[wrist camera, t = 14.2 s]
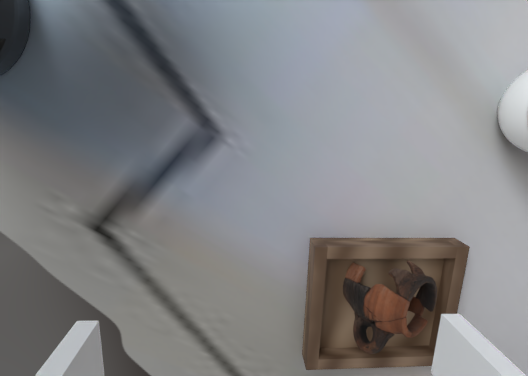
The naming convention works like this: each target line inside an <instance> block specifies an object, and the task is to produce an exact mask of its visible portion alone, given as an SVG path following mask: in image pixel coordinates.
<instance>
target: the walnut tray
mask: <svg viewBox="0 0 528 376" xmlns="http://www.w3.org/2000/svg"><path fill="white" fill-rule="evenodd" d="M468 252H469V246H467V245H465V244H464V243H462V242H460V241H459V240H457V239H455V238H310V247H309V262H308V277H307V291H306V306H305V321H304V335H303V350H302V355H303V359H304V363H305V367H306V370H316V369H347V368H379V367H410V366H432V363H433V357H434V352H435V346H436V341H437V335H438V330H439V324H440V318H441V314H457V309H458V304H459V299H460V294H461V289H462V283H463V278H464V273H465V268H466V263H467V258H468ZM407 260H409V261H411V262H412V263H414V264H415V265H417V266H418V267H419V268H421V269H422V271H423V272H424V274H425V275H426V276H430V277H432V278H433V279H434V280H435V282H436V286H437V299H436V304H435V308H434V309H433V312H430V311H429V310H428V309H426V308H425V309H424V312H423V314H422V318H424V319H426V320H427V321H428V323H427V325H426V326H425V328H424V329H423V330H422V331H421V332H420V333H419V334H418V335H417V336H415V337H412V338H407V337H406V336H404V335H403V334H394V336H393V337H391V338H390V339H389V340H388V342H387V343H386V345H385V347H384V348H383V349H382V350H381V351H380V352H379V353H376V354H368V353H365V352H364V351H363V350H360V349H359V347H358V346H357V344H356V342H355V339H354V335H353V326H354V320H355V314H354V313H355V312H354V310H353V309H352V307H351V306H350V304H349V303H348V302H347V300H346V299H345V297H344V294H343V284H344V279H345V276H346V273H347V271H348V268H349V267H350V265H351V264H352V263H356V264H358V265H361V266H363V267H365V269H366V270H365V272H364V274H363V276H362V278H361V281H360V283H361V284H362V285H364V286H368V287H370V288H372V287H373V286H374V285H375V284H383V285H385V286H386V287H387V288H388V289H390V290H391V291H393V292H395V293H397V287H396V285H395V282H394V279H393V278H392V277H391V276H390V275H389V274H388V272H389V271H390V270H392V269H394V268H398V269H400V270H407V271H410V272H411V269H410V267H409V265H408V264H407ZM411 273H412V272H411ZM419 289H420V288H419ZM419 289H418V290H417V291H416V293H415V294H414V296H413V297H416V295H417V293H418V291H419ZM414 315H415V313H413V312H411V311H408V312H407V316H406V318H407V325H408V324H409V323H410V321H411V320H412V318H413V317H414ZM366 334H367V338H368V340H369V341H371V340H372V337H373V330H372V327H368V328H367V330H366Z"/></svg>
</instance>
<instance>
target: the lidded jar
mask: <svg viewBox="0 0 528 376" xmlns="http://www.w3.org/2000/svg"><path fill="white" fill-rule="evenodd" d="M497 117H498V121H499V125H500V128H501V130H502V132H503V134H504V135H505V137H506V138H507V139H508V140H509V141H510V142H511V143H512V144H513V145H515V146H516V147H518V148H519V149H521V150H523V151H526V152H528V70H526V71H525V72H523V73H522V74H520V75H519V76H518V77H517V78H516V79H515V80H514V81H513V82H512V83H511V84H510V85H509V86H508V88H507V89H506V91H505V92H504V94H503V96H502V98H501V99H500V102H499V105H498V109H497Z"/></svg>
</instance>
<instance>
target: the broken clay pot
mask: <svg viewBox="0 0 528 376" xmlns="http://www.w3.org/2000/svg"><path fill="white" fill-rule="evenodd" d="M407 264H408V265H409V267H410V269H411V272H412V273H411V272H410V271H407V270H400V269H398V268H394V269H392V270H390V271H389V272H388V274H389V275H390V276H391V277H392V278H393V279H394V282H395V285H396V287H397V293H395V292H393V291H391V290H390V289H388V288H387V287H386V286H385V285H383V284H375V285H374V286H373V287H372V288H370V287H368V286H364V285H362V284H361V283H360V281H361V278H362V276H363V274H364V272H365V270H366V269H365V267H363V266H361V265H358V264H356V263H352V264H351V265H350V267H349V268H348V271H347V273H346V276H345V279H344V284H343V294H344V297H345V299H346V300H347V302H348V303H349V304H350V306H351V307H352V309H353V310H354V312H355V313H354V314H355V320H354V326H353V335H354V339H355V342H356V344H357V346H358V347H359V349H360V350H363V351H364V352H365V353H368V354H376V353H379V352H380V351H381V350H382V349H383V348H384V347H385V345H386V343H387V342H388V340H389V339H390V338H391V337H393V336H394V334H403V335H404V336H406V337H407V338H412V337H415V336H417V335H418V334H419V333H420V332H421V331H422V330H423V329H424V328H425V326H426V325H427V323H428V321H427V320H426V319H424V318H422V314H423V312H424V309H425V308H426V309H428V310H429V311H430V312H433V309H434V308H435V304H436V299H437V286H436V282H435V280H434V279H433V278H432V277H430V276H426V275H425V274H424V272H423V271H422V269H421V268H419V267H418V266H417V265H415V264H414V263H412V262H411V261H409V260H407ZM419 288H420V289H419ZM418 289H419V291H418V293H417V295H416V297H413V296H414V294H415V293H416V291H417V290H418ZM408 311H411V312H413V313H415V315H414V317H413V318H412V320H411V321H410V323H409V324H408V325H407V318H406V316H407V312H408ZM368 327H372V330H373V337H372V340H371V341H369V340H368V338H367V334H366V330H367V328H368Z"/></svg>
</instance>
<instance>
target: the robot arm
mask: <svg viewBox="0 0 528 376" xmlns="http://www.w3.org/2000/svg"><path fill="white" fill-rule="evenodd" d="M29 28H30V9H29V3H28V0H0V75H2V74H3V73H5V72H6V71H7V70H9V69H10V68H11V67H12V66H13V65H14V64H15V62H16V61H17V60H18V58H19V57H20V55H21V54H22V52H23V50H24V47H25V45H26V42H27V39H28V34H29ZM431 373H432V374H433V376H526V375H525V374H524V373H523V372H522V371H521V370H520V369H519V368H518V367H517V366H515V365H514V364H513V363H512V362H511V361H510V360H509V359H508V358H507V357H506V356H505V355H504V354H503V353H501V352H500V351H499V350H498V349H497V348H496V347H495V346H494V345H493V344H492V343H491V342H490V341H489V340H487V339H486V338H485V337H484V336H483V335H482V334H481V333H480V332H479V331H478V330H477V329H476V328H475V327H473V326H472V325H471V324H470V323H469V322H468V321H467V320H466V319H465V318H464V317H463V316H462V315H461V314H441V318H440V324H439V330H438V335H437V341H436V346H435V352H434V357H433V363H432V368H431ZM35 376H104V366H103V357H102V347H101V337H100V327H99V321H77V322H76V323H75V324H74V326H73V327H72V328H71V329H70V331H69V332H68V333H67V335H66V336H65V337H64V339H63V340H62V341H61V343H60V344H59V345H58V346H57V348H56V349H55V350H54V352H53V353H52V354H51V356H50V357H49V358H48V360H47V361H46V362H45V364H44V365H43V366H42V367H41V369H40V370H39V371H38V372H37V374H36V375H35Z"/></svg>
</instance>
